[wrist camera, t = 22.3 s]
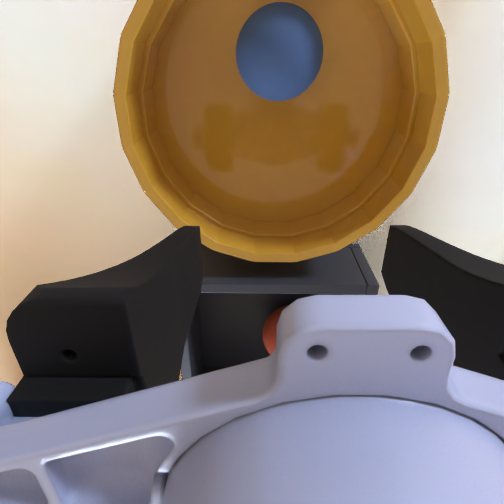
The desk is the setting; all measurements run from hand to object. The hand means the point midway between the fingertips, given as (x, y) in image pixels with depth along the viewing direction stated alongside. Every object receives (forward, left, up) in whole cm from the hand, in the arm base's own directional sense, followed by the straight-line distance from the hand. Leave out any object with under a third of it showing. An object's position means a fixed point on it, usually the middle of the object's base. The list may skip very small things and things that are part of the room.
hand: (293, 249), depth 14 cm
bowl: (0, -4, -7) cm, 8 cm away
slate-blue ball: (0, -6, -5) cm, 8 cm away
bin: (+1, +9, -7) cm, 11 cm away
